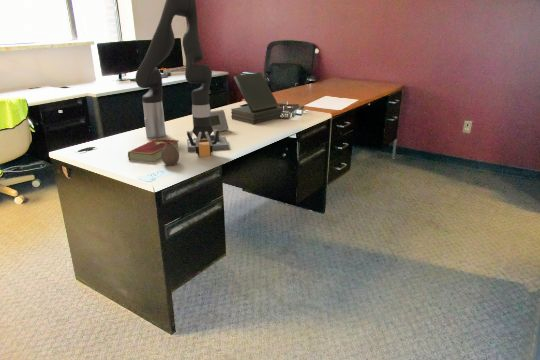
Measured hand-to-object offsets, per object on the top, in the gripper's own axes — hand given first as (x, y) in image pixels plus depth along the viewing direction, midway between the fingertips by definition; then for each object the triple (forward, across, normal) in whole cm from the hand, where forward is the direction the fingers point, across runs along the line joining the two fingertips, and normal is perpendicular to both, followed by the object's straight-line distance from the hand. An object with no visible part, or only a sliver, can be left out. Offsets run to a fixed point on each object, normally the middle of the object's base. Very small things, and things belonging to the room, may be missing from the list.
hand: (204, 153), depth 179 cm
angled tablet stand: (+1, +34, +63) cm, 71 cm away
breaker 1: (-2, 0, +10) cm, 10 cm away
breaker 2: (-2, +5, +16) cm, 16 cm away
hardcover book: (+1, -21, +8) cm, 23 cm away
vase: (+1, -14, -9) cm, 17 cm away
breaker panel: (0, +2, +13) cm, 13 cm away
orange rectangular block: (0, 0, 0) cm, 0 cm away
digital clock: (+1, +7, +37) cm, 38 cm away
